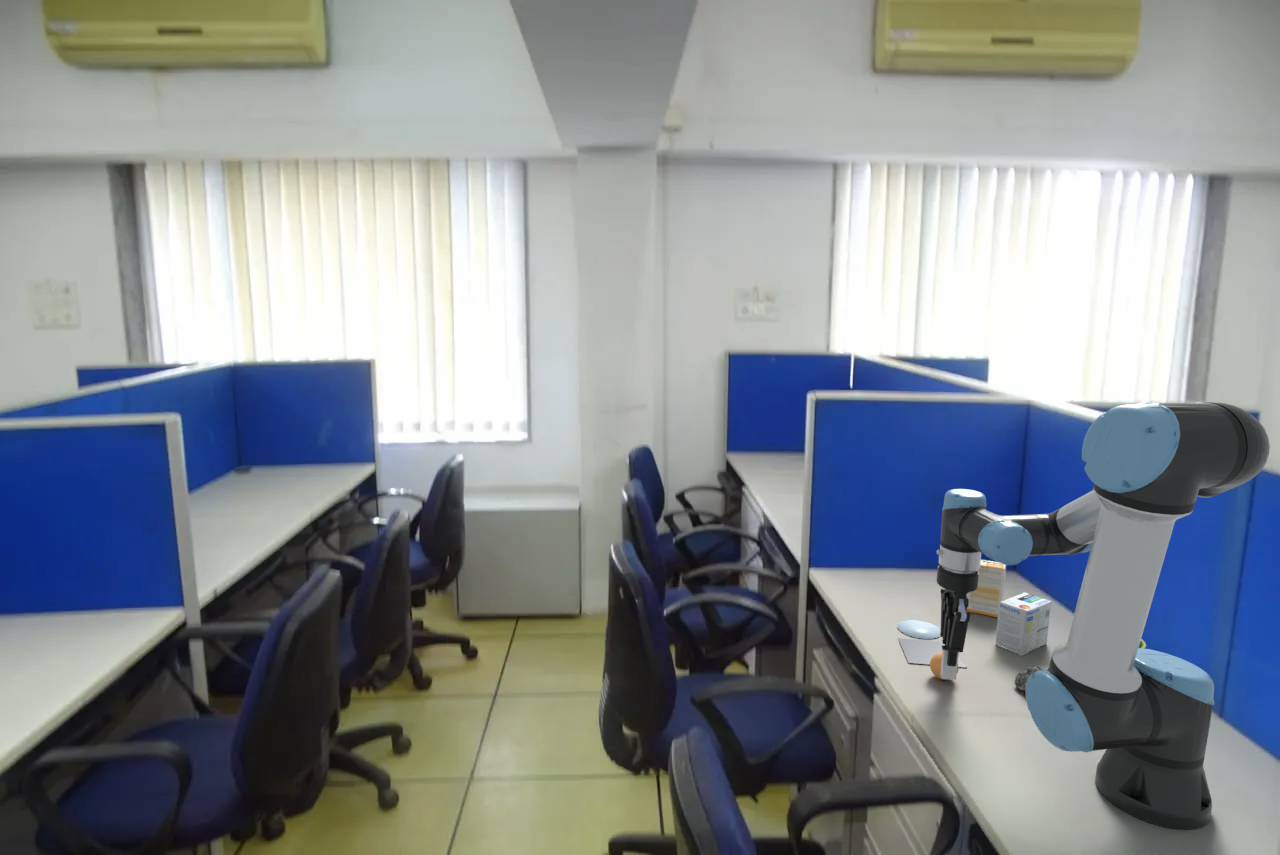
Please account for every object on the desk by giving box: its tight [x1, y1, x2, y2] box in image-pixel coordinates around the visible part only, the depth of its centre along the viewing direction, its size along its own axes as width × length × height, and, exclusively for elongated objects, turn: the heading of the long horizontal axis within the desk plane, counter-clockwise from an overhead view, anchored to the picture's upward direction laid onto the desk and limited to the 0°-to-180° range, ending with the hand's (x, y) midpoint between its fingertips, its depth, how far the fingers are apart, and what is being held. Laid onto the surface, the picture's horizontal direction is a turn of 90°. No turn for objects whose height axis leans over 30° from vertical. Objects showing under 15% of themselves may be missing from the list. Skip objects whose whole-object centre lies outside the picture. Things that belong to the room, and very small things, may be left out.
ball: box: [929, 652, 959, 681], centre depth 153 cm, size 6×6×6 cm
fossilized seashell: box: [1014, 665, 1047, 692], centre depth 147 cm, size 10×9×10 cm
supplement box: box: [966, 558, 1007, 618], centre depth 185 cm, size 8×5×13 cm, turn 58°
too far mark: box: [897, 619, 941, 640], centre depth 176 cm, size 10×10×1 cm
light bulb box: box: [995, 591, 1052, 656], centre depth 168 cm, size 11×7×11 cm, turn 123°
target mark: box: [898, 637, 968, 669], centre depth 164 cm, size 12×12×1 cm
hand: (948, 677), depth 149 cm, fingers closed
